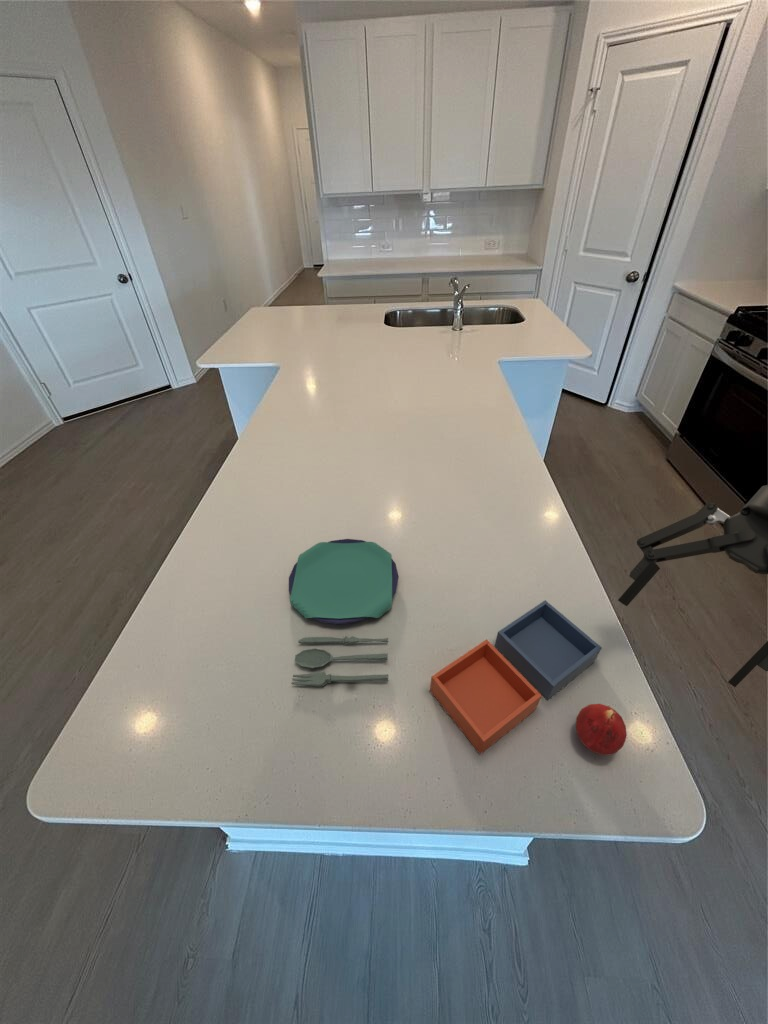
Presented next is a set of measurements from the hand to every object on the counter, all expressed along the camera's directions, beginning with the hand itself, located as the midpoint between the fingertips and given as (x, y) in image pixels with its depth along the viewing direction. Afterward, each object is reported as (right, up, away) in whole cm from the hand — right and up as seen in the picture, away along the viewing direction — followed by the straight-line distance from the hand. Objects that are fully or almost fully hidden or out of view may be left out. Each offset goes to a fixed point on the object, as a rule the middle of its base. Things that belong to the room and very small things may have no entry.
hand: (672, 640), depth 54 cm
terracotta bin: (-21, -11, +10) cm, 26 cm away
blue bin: (-10, -7, +15) cm, 19 cm away
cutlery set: (-42, -1, +23) cm, 48 cm away
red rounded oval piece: (-7, -15, +6) cm, 18 cm away
